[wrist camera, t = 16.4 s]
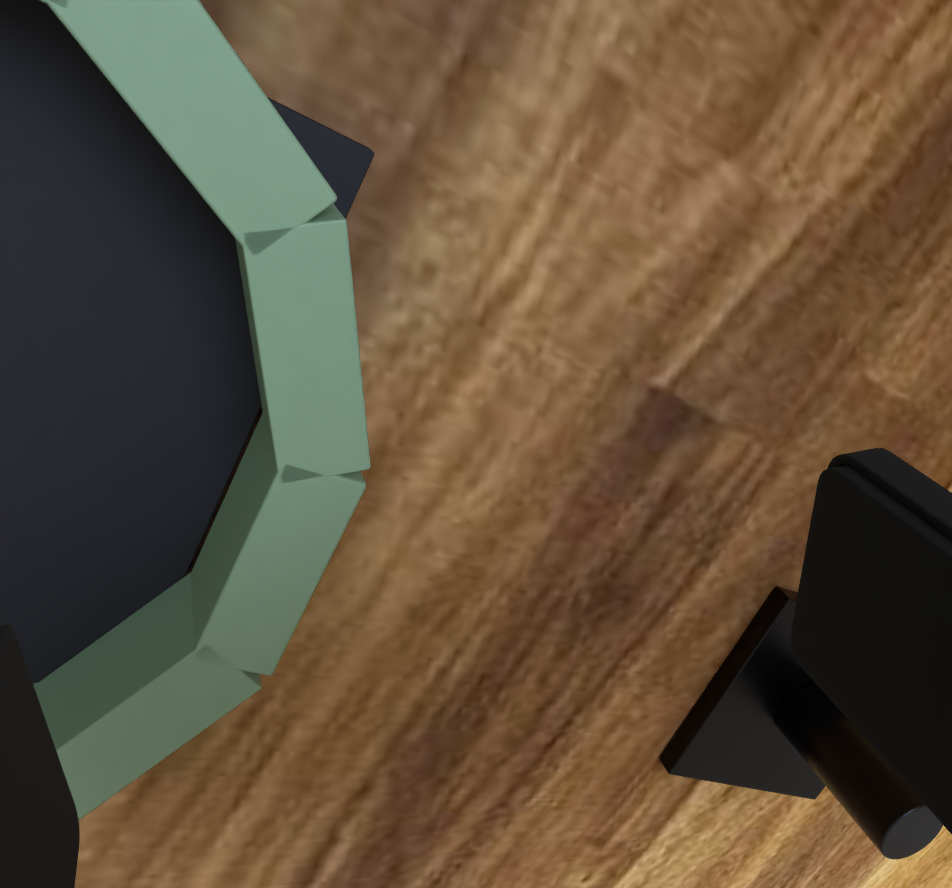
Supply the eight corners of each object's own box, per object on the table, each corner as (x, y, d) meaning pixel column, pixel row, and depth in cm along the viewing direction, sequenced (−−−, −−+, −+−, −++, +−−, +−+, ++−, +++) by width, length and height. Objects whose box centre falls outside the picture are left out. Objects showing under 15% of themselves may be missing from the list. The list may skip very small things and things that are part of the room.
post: (776, 585, 31) (910, 716, 25) (918, 632, 34) (1062, 756, 29) (658, 758, 33) (758, 913, 28) (803, 785, 37) (917, 927, 31)
